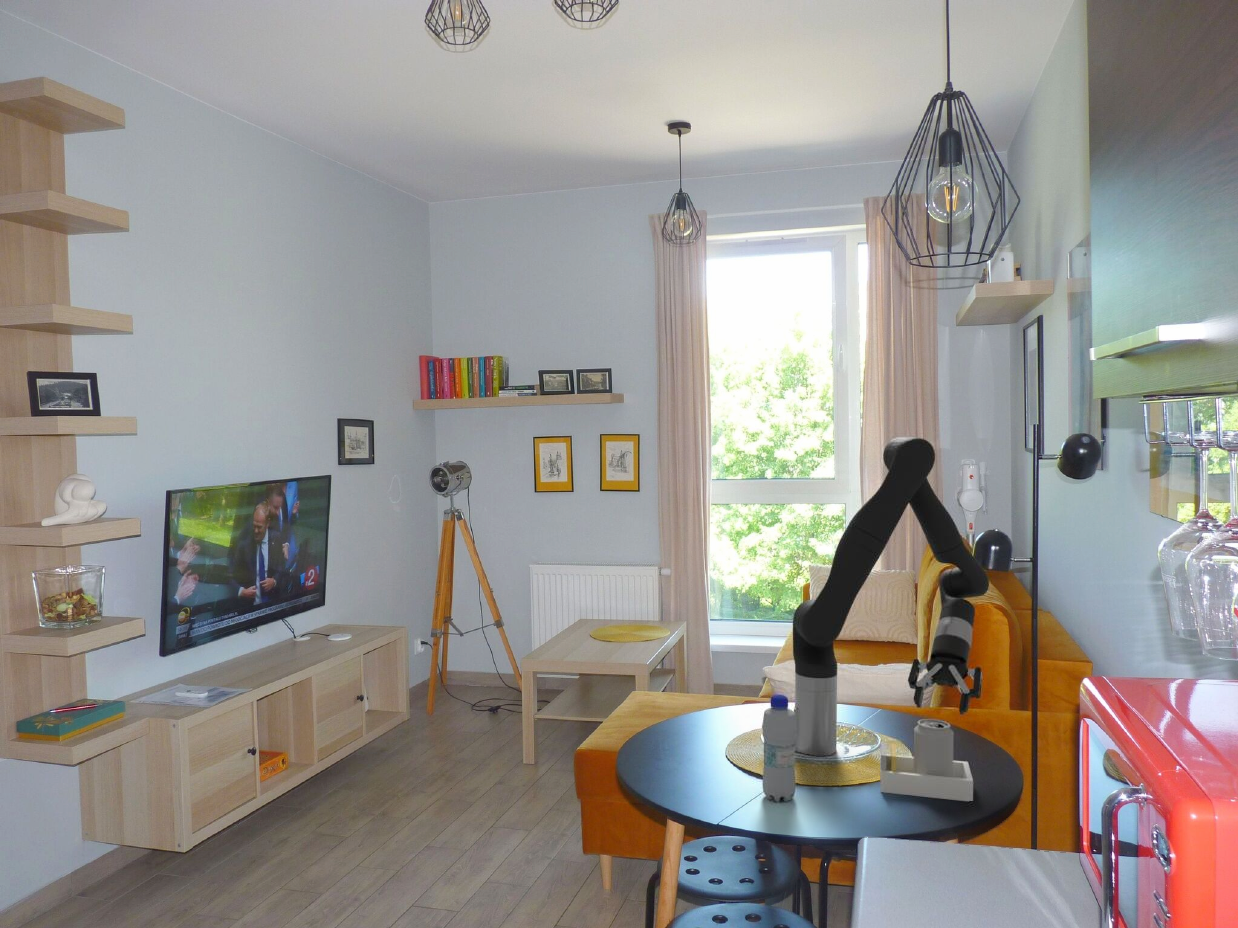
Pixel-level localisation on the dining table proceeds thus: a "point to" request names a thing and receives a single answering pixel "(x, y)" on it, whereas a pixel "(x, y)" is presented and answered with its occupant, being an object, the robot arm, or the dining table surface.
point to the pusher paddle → (893, 758)
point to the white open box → (925, 779)
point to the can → (933, 748)
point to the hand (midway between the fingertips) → (939, 709)
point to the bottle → (779, 749)
